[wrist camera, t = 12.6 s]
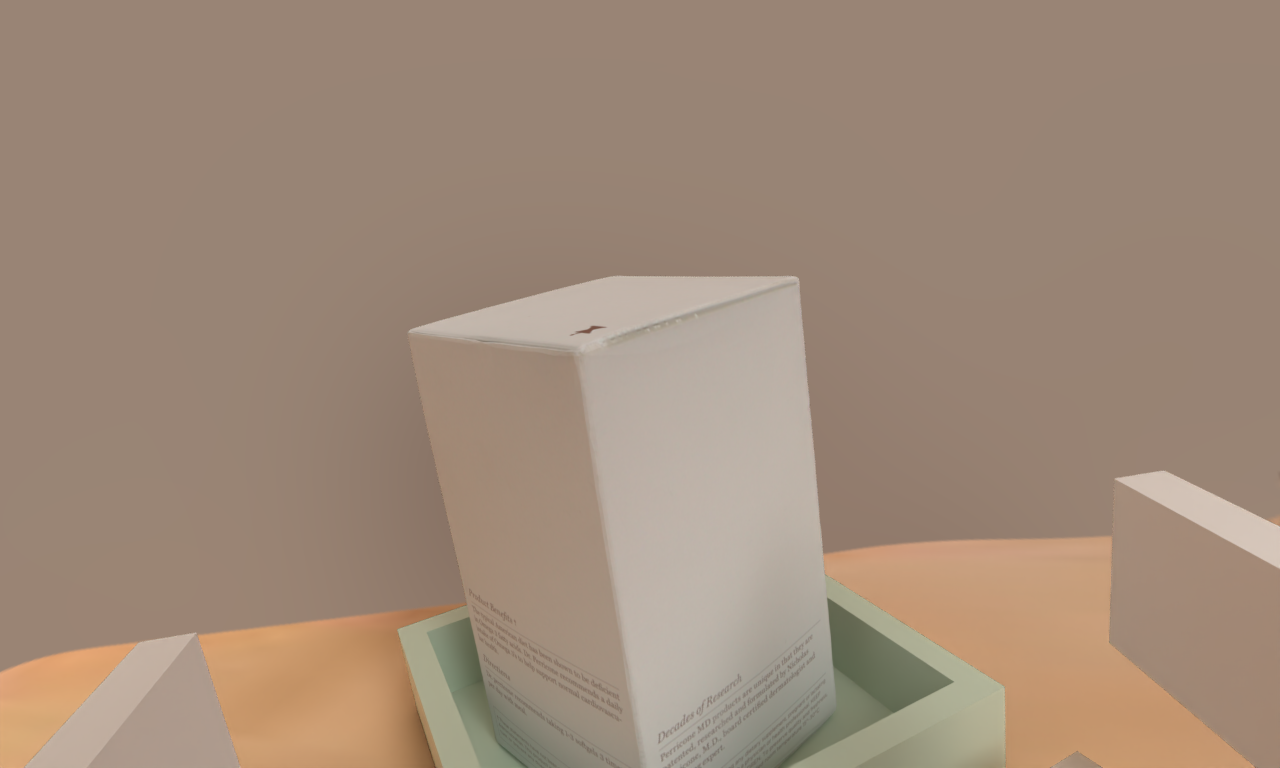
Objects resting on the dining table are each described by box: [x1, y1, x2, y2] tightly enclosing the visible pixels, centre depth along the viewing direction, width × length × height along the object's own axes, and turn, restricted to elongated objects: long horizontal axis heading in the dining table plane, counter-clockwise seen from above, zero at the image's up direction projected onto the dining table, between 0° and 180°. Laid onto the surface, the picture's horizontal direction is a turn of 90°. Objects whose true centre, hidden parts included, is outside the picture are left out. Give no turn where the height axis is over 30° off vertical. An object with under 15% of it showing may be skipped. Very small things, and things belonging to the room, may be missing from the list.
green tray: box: [397, 574, 1006, 768], centre depth 22 cm, size 13×13×3 cm
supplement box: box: [407, 276, 837, 768], centre depth 21 cm, size 7×7×13 cm
